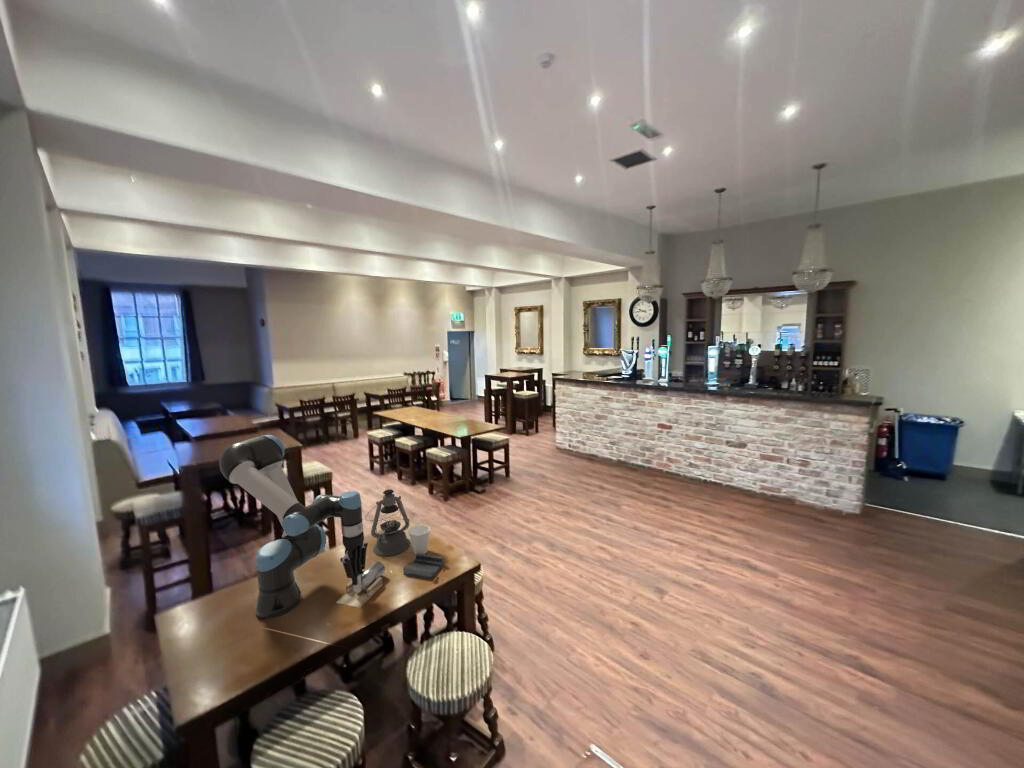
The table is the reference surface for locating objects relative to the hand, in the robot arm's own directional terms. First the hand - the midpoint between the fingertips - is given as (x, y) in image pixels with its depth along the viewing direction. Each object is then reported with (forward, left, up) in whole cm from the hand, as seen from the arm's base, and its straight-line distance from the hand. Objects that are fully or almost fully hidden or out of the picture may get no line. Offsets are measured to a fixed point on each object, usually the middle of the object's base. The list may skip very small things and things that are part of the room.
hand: (357, 590), depth 156 cm
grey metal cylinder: (0, +8, -2) cm, 8 cm away
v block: (+16, +22, -3) cm, 28 cm away
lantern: (-9, +36, -3) cm, 38 cm away
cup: (+8, +34, -3) cm, 35 cm away
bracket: (0, +1, -3) cm, 3 cm away
